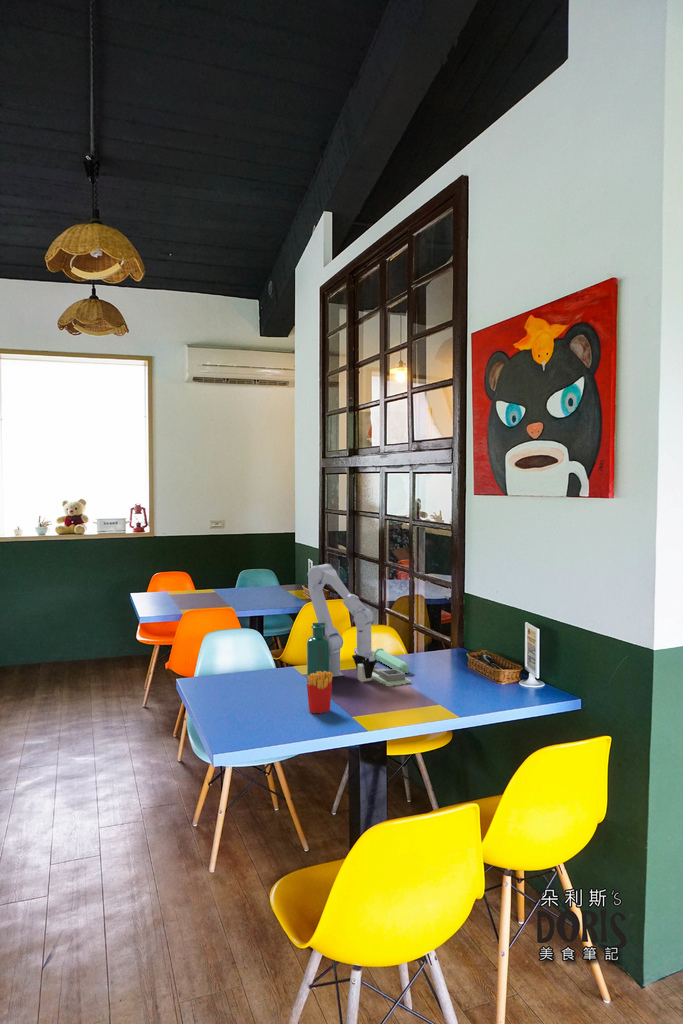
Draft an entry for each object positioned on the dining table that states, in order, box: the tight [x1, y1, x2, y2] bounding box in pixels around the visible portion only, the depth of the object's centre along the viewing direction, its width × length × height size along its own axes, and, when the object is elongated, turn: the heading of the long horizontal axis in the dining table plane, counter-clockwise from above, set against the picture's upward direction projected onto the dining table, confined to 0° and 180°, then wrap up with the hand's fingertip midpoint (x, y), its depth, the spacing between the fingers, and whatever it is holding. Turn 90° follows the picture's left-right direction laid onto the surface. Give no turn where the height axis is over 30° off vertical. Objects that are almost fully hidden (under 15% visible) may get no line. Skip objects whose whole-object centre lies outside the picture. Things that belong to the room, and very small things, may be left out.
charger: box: [356, 663, 372, 683], centre depth 266 cm, size 4×4×6 cm
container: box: [373, 648, 410, 674], centre depth 284 cm, size 6×6×25 cm
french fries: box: [306, 671, 334, 714], centre depth 229 cm, size 9×4×13 cm, turn 122°
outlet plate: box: [371, 667, 412, 687], centre depth 267 cm, size 10×18×3 cm, turn 23°
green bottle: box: [306, 622, 330, 684], centre depth 264 cm, size 10×8×22 cm
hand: (364, 675), depth 266 cm, fingers open, 7 cm apart
